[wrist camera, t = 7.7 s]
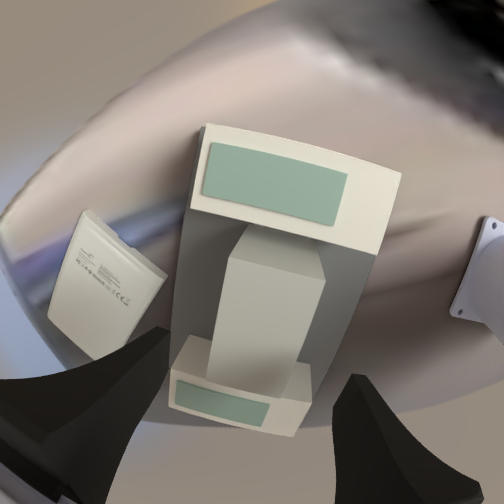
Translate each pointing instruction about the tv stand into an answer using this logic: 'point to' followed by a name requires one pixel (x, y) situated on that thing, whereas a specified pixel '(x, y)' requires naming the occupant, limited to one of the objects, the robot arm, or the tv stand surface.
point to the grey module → (264, 310)
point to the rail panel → (284, 220)
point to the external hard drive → (102, 288)
